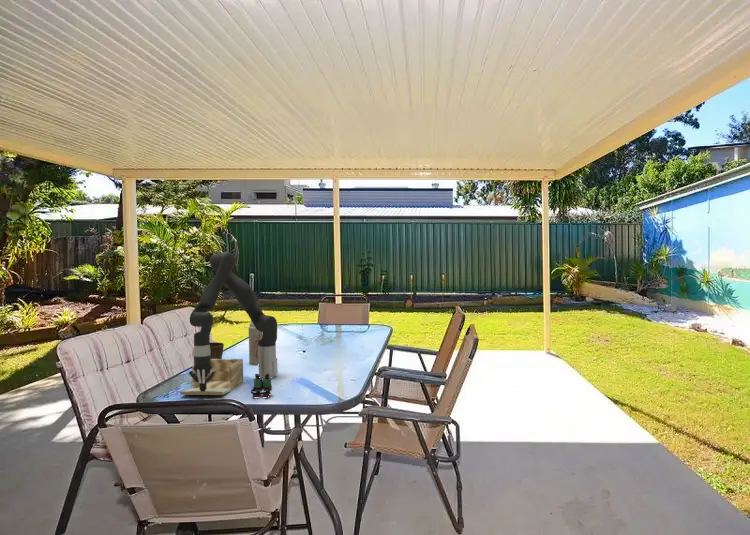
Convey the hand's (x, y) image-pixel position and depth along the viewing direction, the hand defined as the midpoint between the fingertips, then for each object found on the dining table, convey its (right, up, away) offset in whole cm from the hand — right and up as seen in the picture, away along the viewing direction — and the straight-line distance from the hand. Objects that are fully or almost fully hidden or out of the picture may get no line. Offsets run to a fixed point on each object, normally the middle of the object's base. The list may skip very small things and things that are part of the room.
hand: (203, 390), depth 237 cm
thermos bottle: (+10, 0, +66) cm, 66 cm away
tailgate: (+1, -2, +9) cm, 9 cm away
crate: (+2, -2, +18) cm, 18 cm away
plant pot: (-11, -1, +45) cm, 47 cm away
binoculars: (+28, -3, -2) cm, 28 cm away
